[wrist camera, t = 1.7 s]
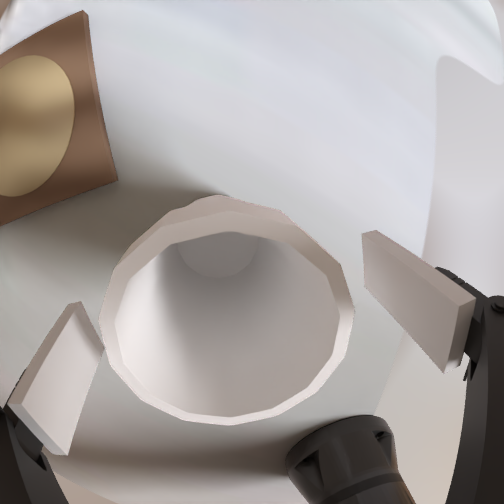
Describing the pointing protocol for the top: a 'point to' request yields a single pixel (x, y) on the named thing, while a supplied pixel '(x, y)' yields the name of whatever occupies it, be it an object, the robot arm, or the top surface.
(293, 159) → the top surface
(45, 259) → the top surface
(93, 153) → the stand board
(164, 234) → the foam cup
